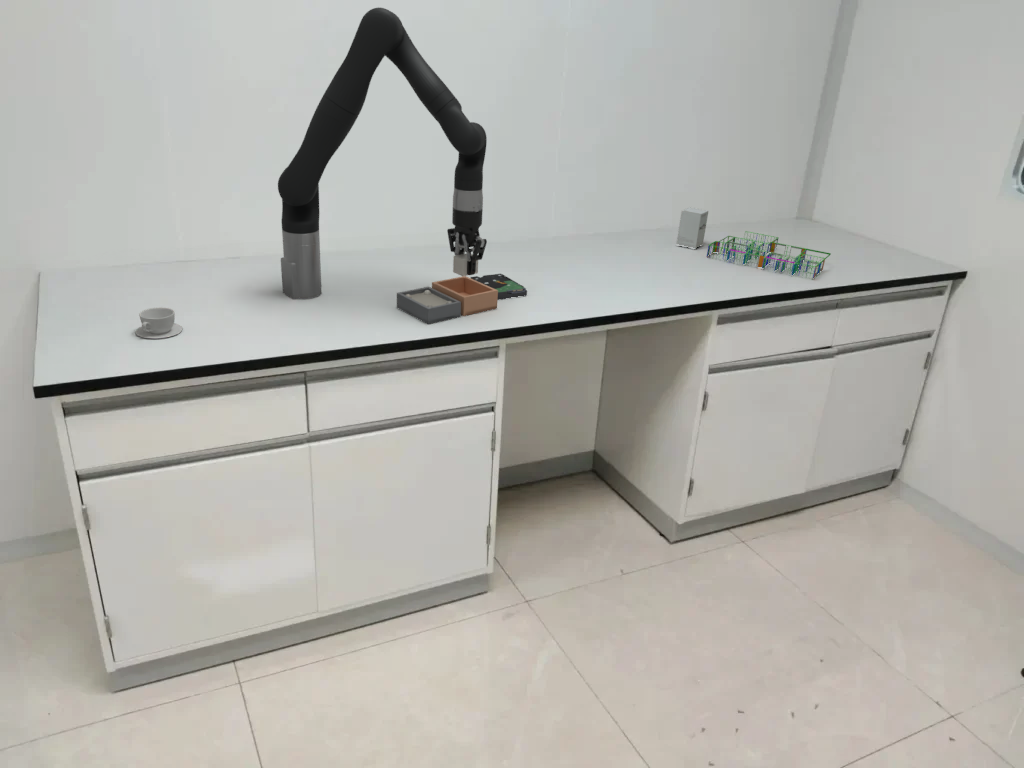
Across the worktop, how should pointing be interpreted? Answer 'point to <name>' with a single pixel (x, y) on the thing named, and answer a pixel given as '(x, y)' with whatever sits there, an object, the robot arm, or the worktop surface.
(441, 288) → the terracotta bin
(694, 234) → the supplement box
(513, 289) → the disk drive
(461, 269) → the gray rectangular block
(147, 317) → the teacup
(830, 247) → the worktop surface
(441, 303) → the gravel bin
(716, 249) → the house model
